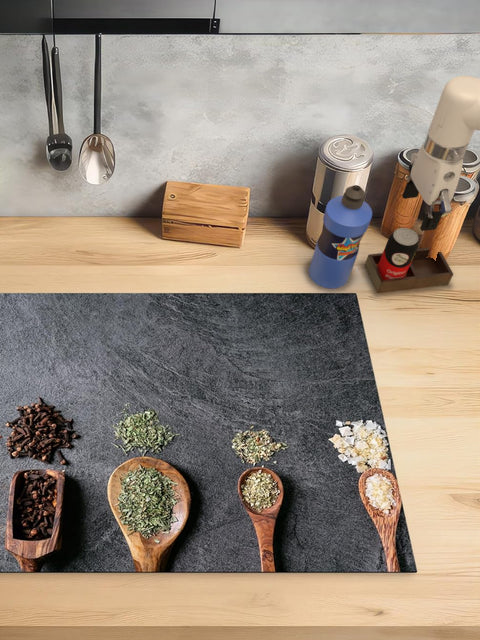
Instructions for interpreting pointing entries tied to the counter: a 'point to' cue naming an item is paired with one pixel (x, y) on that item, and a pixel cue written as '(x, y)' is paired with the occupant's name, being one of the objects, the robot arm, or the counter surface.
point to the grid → (411, 273)
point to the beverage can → (398, 254)
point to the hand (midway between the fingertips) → (418, 212)
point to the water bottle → (340, 238)
